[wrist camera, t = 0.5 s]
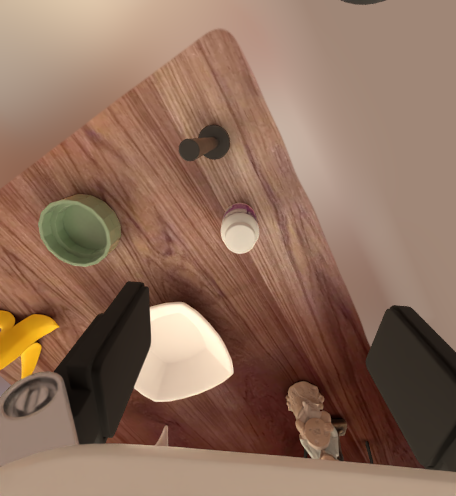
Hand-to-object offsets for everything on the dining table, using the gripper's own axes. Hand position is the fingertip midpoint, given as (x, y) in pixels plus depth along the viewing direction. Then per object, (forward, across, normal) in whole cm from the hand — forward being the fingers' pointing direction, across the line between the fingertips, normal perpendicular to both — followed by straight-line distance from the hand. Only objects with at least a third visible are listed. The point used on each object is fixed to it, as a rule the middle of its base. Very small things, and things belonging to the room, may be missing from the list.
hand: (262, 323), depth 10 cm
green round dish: (+32, +25, +9) cm, 41 cm away
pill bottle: (+32, 0, +6) cm, 33 cm away
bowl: (+32, +11, +32) cm, 46 cm away
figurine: (+32, -18, +44) cm, 57 cm away
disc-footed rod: (+32, +5, -5) cm, 33 cm away
